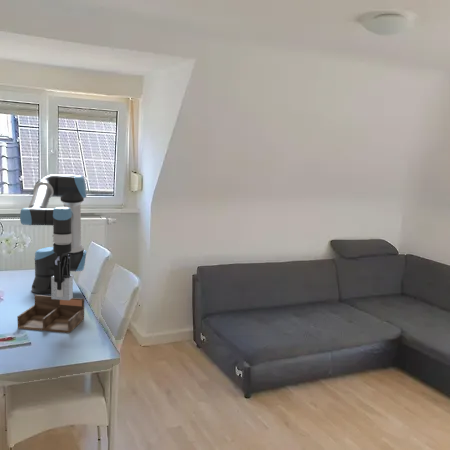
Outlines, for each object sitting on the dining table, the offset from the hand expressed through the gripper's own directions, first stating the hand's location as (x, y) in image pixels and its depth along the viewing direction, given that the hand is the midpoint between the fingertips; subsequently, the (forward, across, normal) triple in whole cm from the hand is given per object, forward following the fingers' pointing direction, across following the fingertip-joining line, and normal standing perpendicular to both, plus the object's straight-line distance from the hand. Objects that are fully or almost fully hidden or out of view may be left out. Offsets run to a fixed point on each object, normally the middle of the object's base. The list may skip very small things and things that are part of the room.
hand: (62, 294), depth 216 cm
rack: (+15, -2, -6) cm, 16 cm away
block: (+2, 0, 0) cm, 2 cm away
